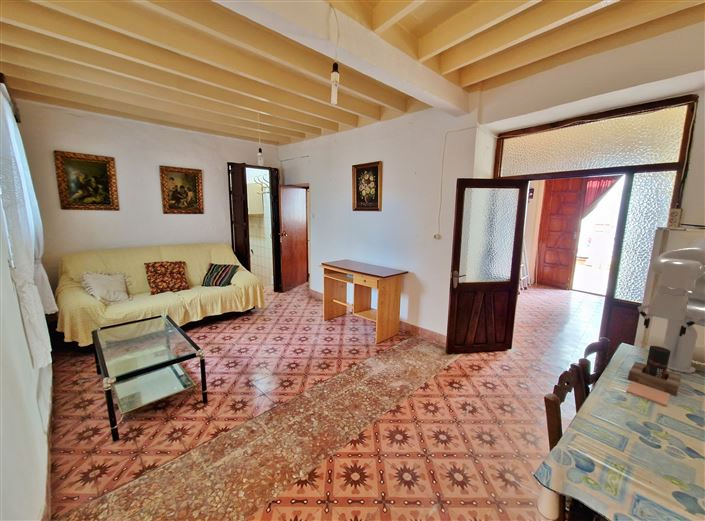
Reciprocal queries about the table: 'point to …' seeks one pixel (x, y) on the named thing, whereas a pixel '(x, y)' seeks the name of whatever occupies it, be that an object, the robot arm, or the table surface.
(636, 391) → the tile
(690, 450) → the table surface
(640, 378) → the holder block
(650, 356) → the deodorant
